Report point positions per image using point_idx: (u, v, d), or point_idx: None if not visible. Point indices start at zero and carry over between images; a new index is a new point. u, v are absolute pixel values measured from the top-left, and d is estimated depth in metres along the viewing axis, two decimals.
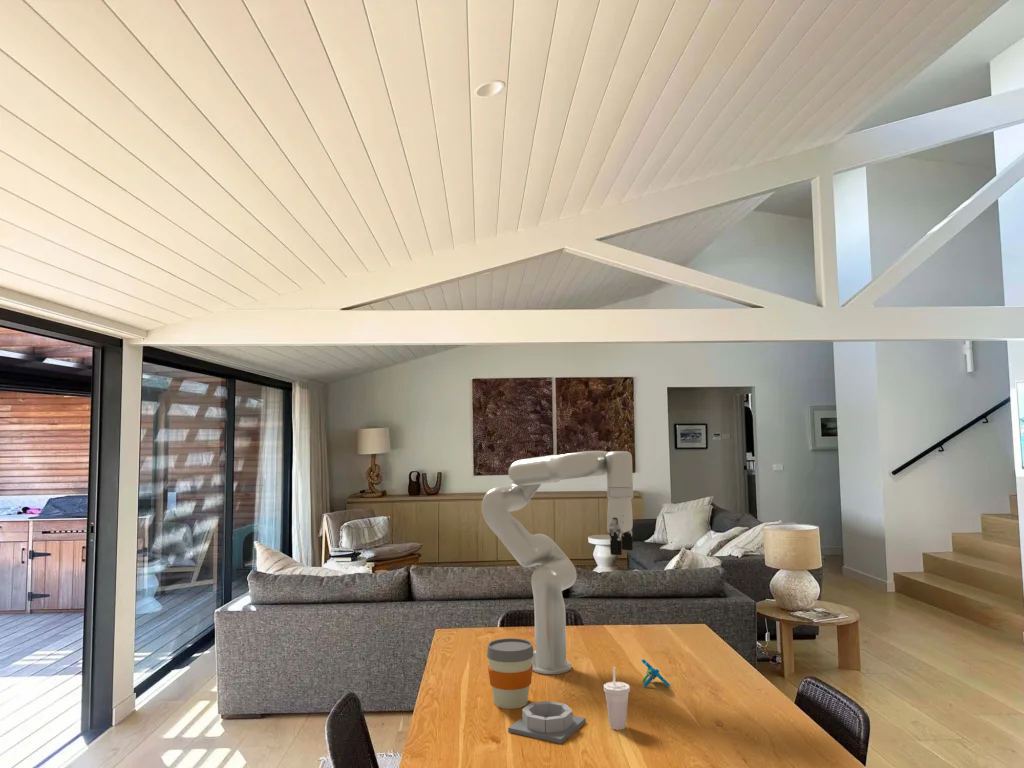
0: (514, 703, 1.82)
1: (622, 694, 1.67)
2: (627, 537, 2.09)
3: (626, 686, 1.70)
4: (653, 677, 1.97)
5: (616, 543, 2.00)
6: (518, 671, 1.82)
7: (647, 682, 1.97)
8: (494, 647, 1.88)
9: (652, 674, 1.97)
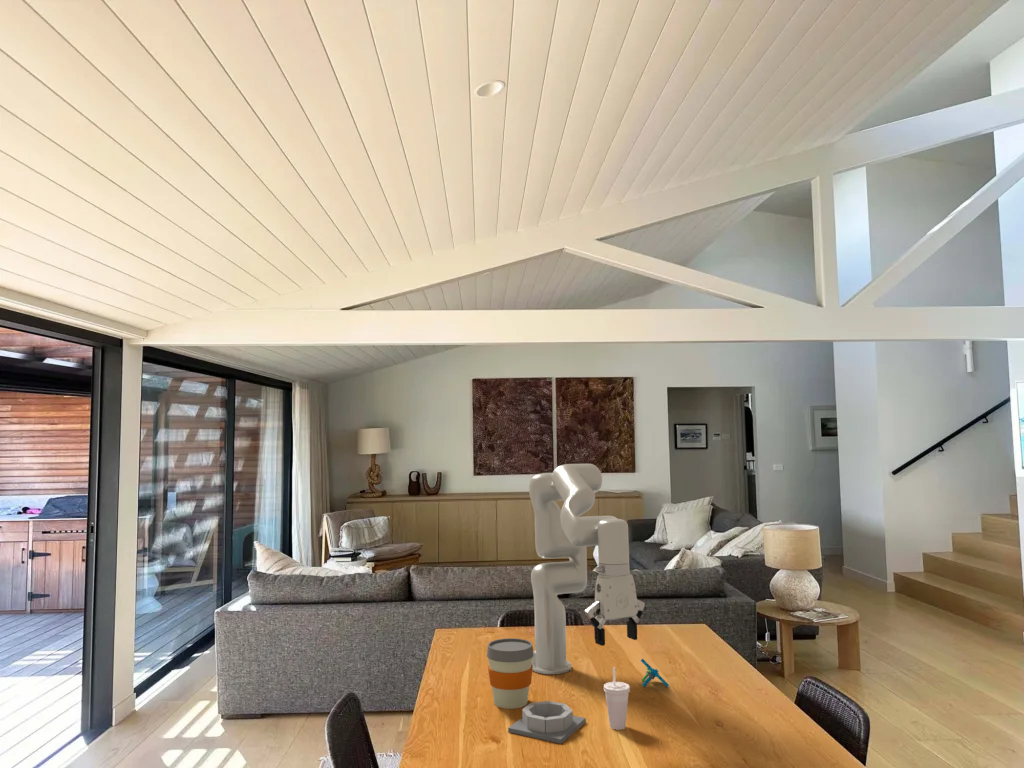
0: (514, 703, 1.82)
1: (622, 694, 1.67)
2: None
3: (626, 686, 1.70)
4: (652, 677, 1.97)
5: None
6: (518, 671, 1.82)
7: (646, 682, 1.97)
8: (494, 647, 1.88)
9: (651, 674, 1.97)
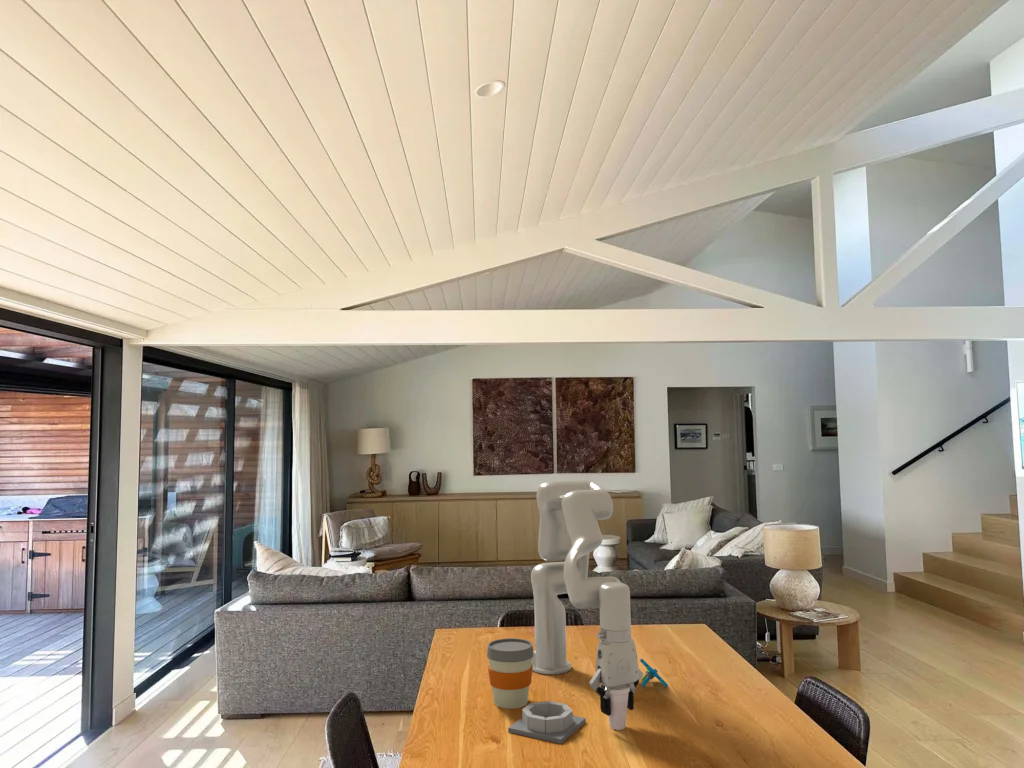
0: (514, 703, 1.82)
1: (622, 694, 1.67)
2: None
3: (626, 686, 1.70)
4: (651, 677, 1.97)
5: None
6: (518, 671, 1.82)
7: (645, 682, 1.97)
8: (494, 647, 1.87)
9: (650, 674, 1.97)
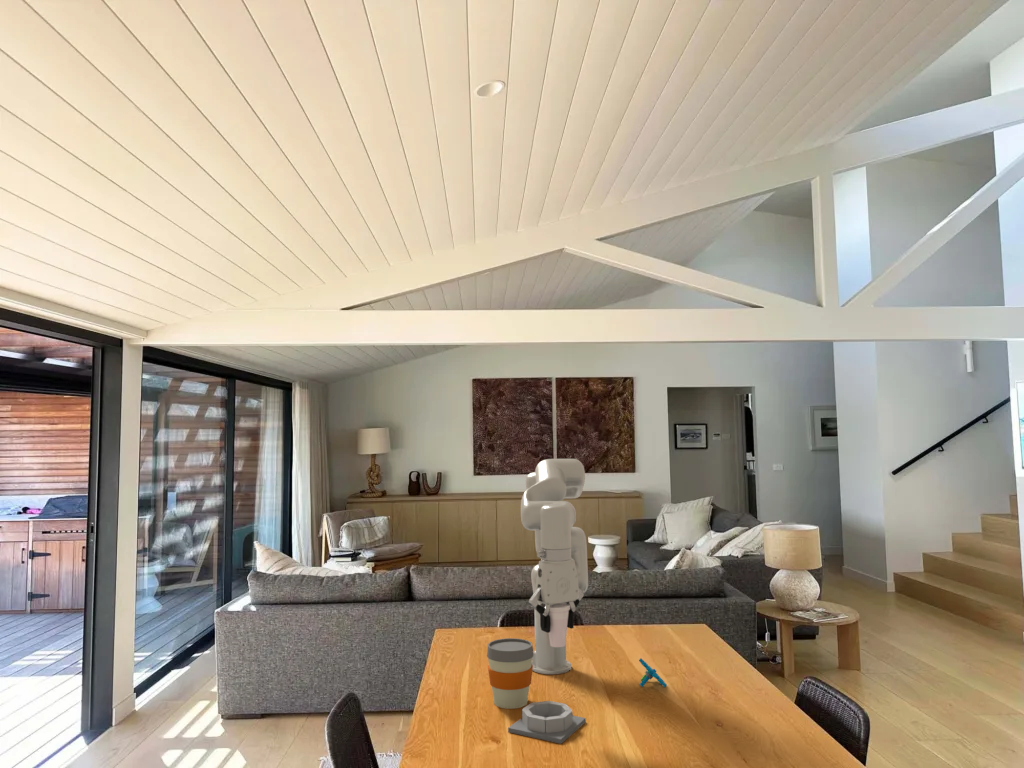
0: (514, 703, 1.82)
1: (561, 611, 1.69)
2: None
3: (566, 605, 1.72)
4: (650, 677, 1.97)
5: None
6: (518, 671, 1.82)
7: (644, 682, 1.97)
8: (494, 647, 1.87)
9: (649, 674, 1.97)
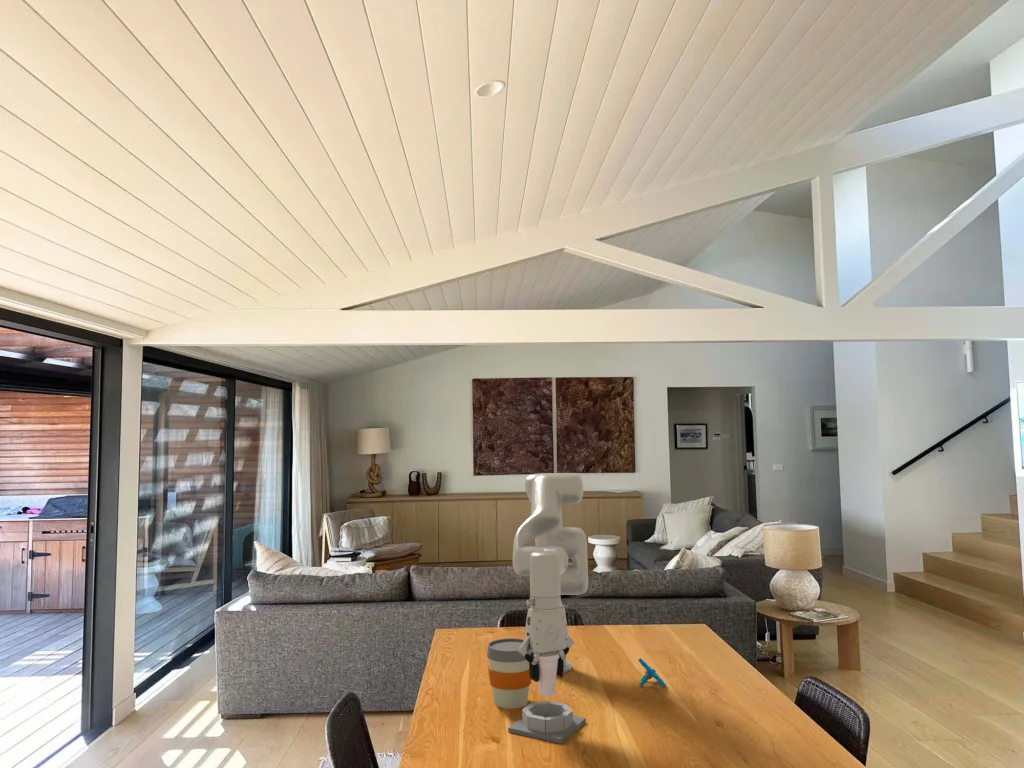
0: (514, 703, 1.82)
1: (550, 660, 1.68)
2: None
3: (556, 653, 1.71)
4: (649, 677, 1.97)
5: None
6: (518, 671, 1.82)
7: (643, 681, 1.97)
8: (494, 647, 1.87)
9: (648, 674, 1.97)
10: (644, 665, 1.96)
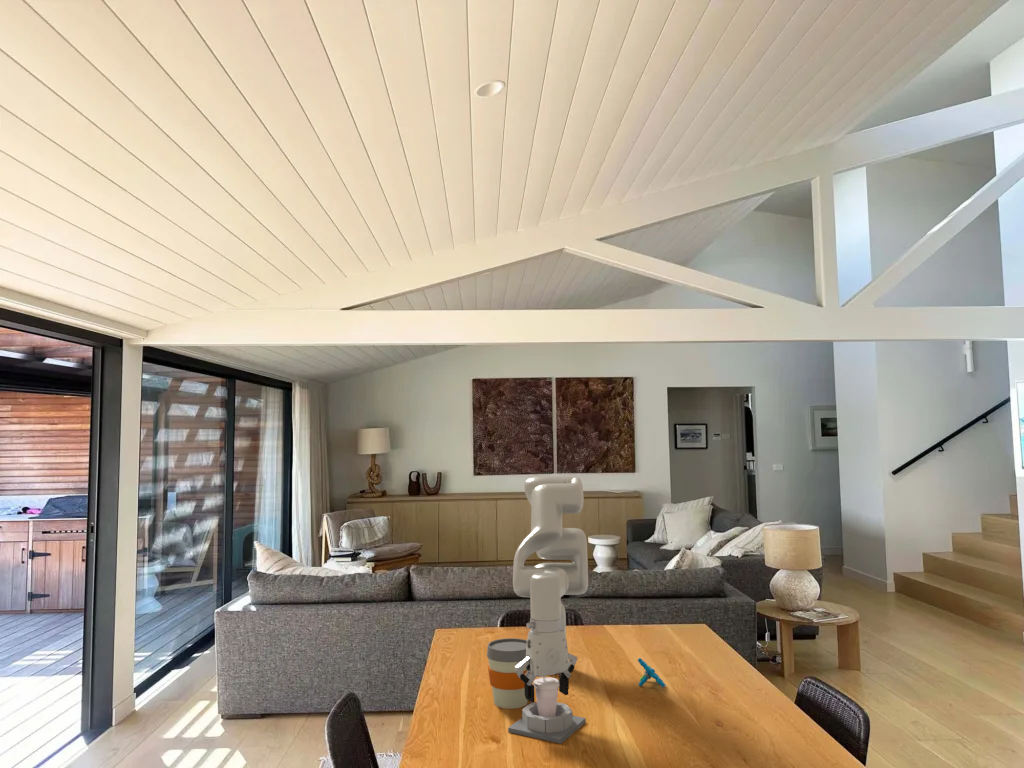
0: (514, 703, 1.82)
1: (550, 689, 1.68)
2: None
3: (556, 681, 1.71)
4: (648, 677, 1.97)
5: None
6: None
7: (642, 681, 1.97)
8: (494, 647, 1.88)
9: (647, 674, 1.97)
10: (643, 665, 1.96)
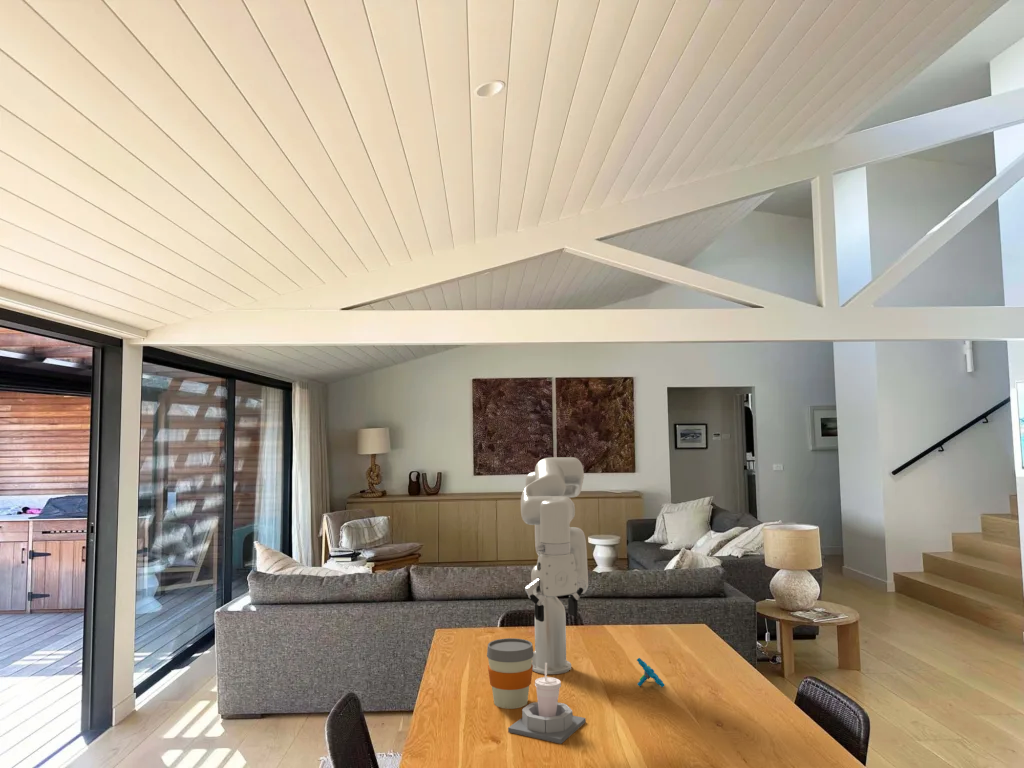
0: (514, 703, 1.82)
1: (552, 689, 1.68)
2: None
3: (557, 682, 1.71)
4: (647, 677, 1.97)
5: None
6: (518, 671, 1.82)
7: (641, 681, 1.97)
8: (494, 647, 1.88)
9: (647, 674, 1.97)
10: (642, 665, 1.96)
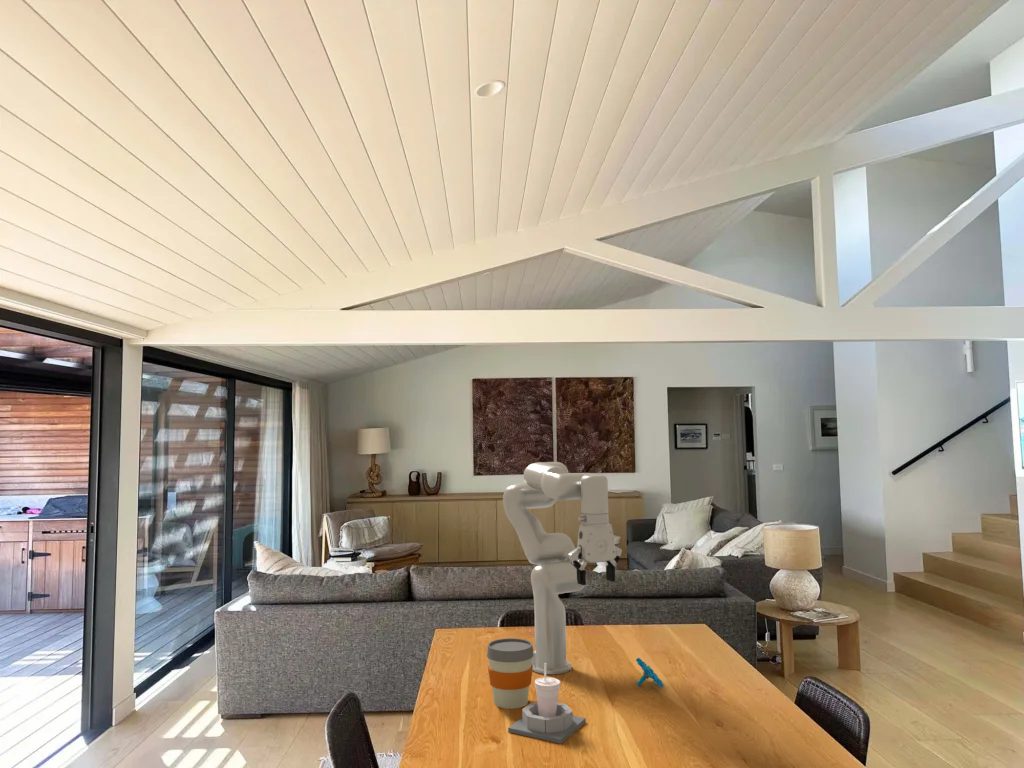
0: (514, 703, 1.82)
1: (551, 689, 1.68)
2: None
3: (557, 682, 1.71)
4: (646, 676, 1.97)
5: None
6: (518, 671, 1.82)
7: (640, 681, 1.97)
8: (494, 647, 1.87)
9: (646, 673, 1.97)
10: (641, 665, 1.96)
